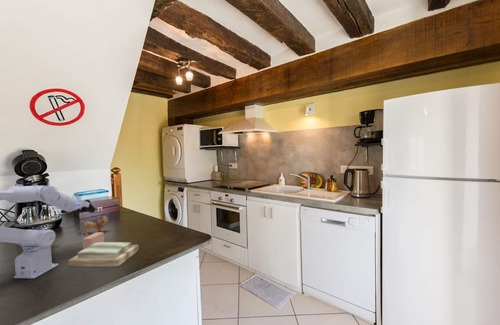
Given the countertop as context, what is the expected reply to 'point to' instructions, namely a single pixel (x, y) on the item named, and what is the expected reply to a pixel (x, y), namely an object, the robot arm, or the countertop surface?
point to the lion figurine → (95, 225)
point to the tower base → (104, 260)
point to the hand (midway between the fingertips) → (86, 211)
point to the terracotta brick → (93, 239)
